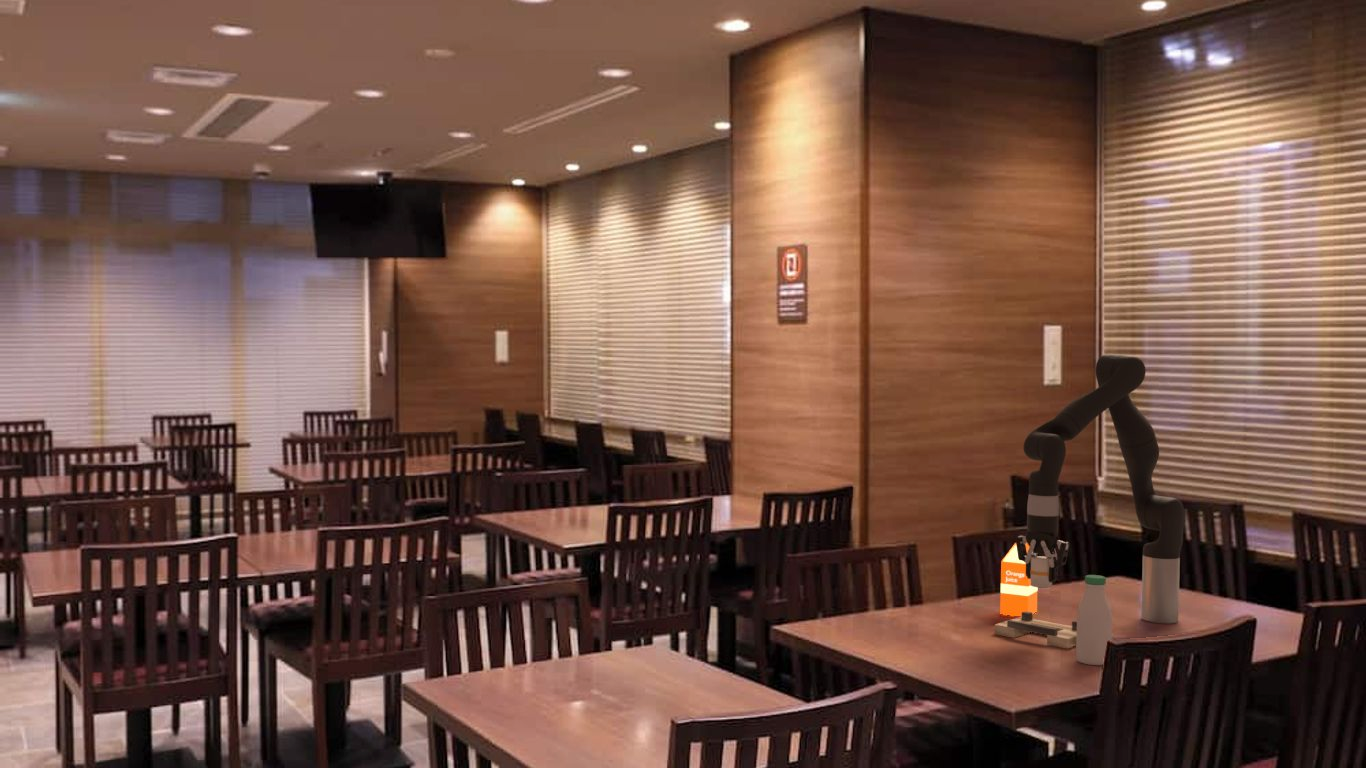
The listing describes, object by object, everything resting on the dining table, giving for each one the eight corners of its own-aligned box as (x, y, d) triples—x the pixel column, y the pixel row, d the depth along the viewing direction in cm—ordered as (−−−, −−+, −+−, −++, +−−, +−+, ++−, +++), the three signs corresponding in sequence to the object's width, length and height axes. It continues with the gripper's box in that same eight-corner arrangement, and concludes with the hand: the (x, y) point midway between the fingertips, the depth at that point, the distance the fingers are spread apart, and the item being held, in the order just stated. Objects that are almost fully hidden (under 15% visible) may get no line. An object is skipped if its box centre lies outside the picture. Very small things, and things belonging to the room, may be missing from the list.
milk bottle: (1113, 667, 277) (1115, 580, 276) (1078, 665, 278) (1079, 578, 277) (1108, 658, 284) (1110, 574, 283) (1074, 656, 286) (1076, 572, 285)
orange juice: (1037, 612, 333) (1039, 539, 332) (1028, 618, 325) (1029, 544, 325) (1009, 608, 337) (1010, 537, 336) (999, 614, 330) (1000, 541, 329)
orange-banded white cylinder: (1036, 582, 307) (1037, 555, 307) (1056, 586, 303) (1057, 558, 303) (1025, 585, 303) (1026, 557, 303) (1045, 588, 299) (1046, 560, 299)
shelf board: (1020, 625, 316) (1021, 609, 316) (1093, 639, 302) (1093, 622, 302) (994, 633, 307) (994, 616, 307) (1067, 648, 293) (1068, 630, 293)
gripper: (1077, 514, 300) (1075, 582, 301) (1024, 508, 310) (1023, 574, 311) (1062, 517, 295) (1060, 586, 295) (1009, 511, 305) (1007, 577, 306)
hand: (1041, 579), depth 303 cm, fingers closed on orange-banded white cylinder, 5 cm apart
